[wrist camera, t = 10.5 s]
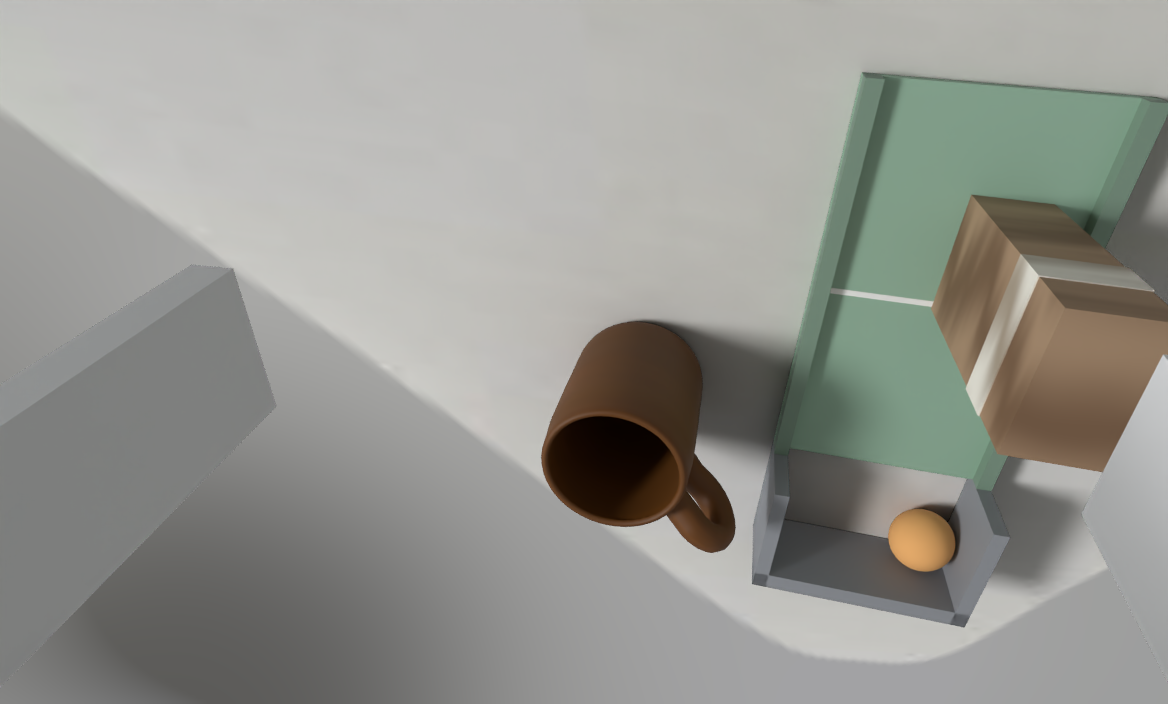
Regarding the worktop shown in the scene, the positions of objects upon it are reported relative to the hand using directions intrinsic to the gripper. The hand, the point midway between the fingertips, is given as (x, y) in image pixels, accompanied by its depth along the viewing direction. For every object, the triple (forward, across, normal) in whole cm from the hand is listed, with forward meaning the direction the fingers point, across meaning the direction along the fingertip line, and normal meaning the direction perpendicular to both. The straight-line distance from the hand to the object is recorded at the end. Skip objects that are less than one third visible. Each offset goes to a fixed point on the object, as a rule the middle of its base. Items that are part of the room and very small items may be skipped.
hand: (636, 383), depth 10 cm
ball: (+24, +14, -26) cm, 38 cm away
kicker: (+26, +13, -9) cm, 30 cm away
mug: (+26, -2, -19) cm, 32 cm away
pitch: (+26, +11, -15) cm, 32 cm away
